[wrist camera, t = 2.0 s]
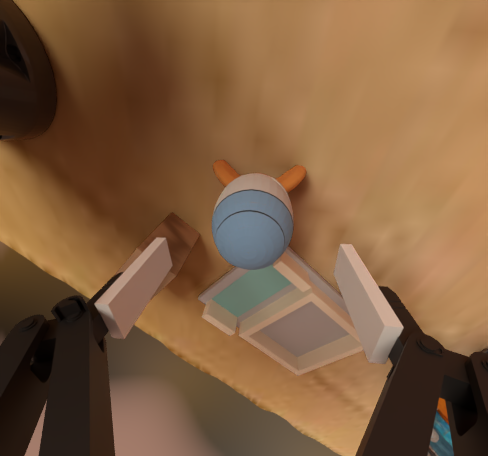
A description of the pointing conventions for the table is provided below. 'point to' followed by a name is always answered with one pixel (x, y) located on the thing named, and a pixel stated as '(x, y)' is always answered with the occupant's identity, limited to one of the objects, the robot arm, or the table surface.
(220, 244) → the toy rocket
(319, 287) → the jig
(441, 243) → the table surface
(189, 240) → the wing block
